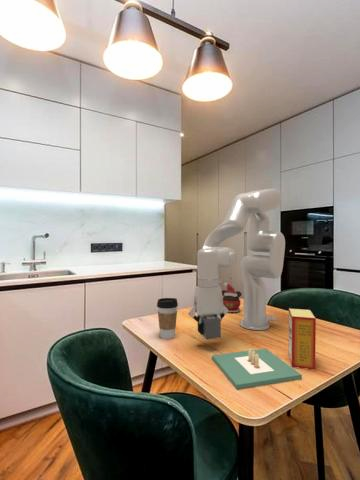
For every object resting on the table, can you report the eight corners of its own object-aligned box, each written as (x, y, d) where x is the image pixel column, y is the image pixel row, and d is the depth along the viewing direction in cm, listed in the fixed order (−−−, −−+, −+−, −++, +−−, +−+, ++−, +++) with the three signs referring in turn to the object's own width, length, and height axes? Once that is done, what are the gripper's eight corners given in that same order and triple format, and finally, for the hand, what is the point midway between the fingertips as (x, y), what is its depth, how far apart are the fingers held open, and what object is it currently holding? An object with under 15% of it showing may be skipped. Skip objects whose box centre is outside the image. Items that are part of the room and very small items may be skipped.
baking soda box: (288, 353, 92) (288, 307, 92) (309, 356, 90) (309, 308, 90) (291, 367, 83) (292, 315, 83) (315, 370, 81) (315, 317, 81)
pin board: (266, 351, 94) (266, 337, 93) (301, 378, 76) (301, 360, 76) (211, 358, 89) (211, 343, 88) (236, 389, 71) (236, 369, 71)
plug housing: (212, 328, 103) (211, 311, 103) (220, 337, 95) (220, 318, 94) (198, 330, 102) (197, 313, 101) (206, 339, 93) (205, 320, 93)
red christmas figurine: (242, 309, 146) (242, 276, 146) (239, 314, 137) (239, 279, 137) (223, 307, 150) (223, 275, 149) (219, 312, 141) (219, 278, 141)
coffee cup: (170, 342, 102) (170, 302, 102) (152, 337, 107) (152, 299, 107) (181, 334, 110) (181, 298, 109) (164, 331, 114) (164, 295, 114)
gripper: (225, 279, 103) (226, 326, 104) (182, 282, 99) (183, 331, 100) (234, 283, 96) (235, 333, 97) (188, 286, 92) (189, 339, 92)
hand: (209, 331), depth 98 cm, fingers closed on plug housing, 5 cm apart
